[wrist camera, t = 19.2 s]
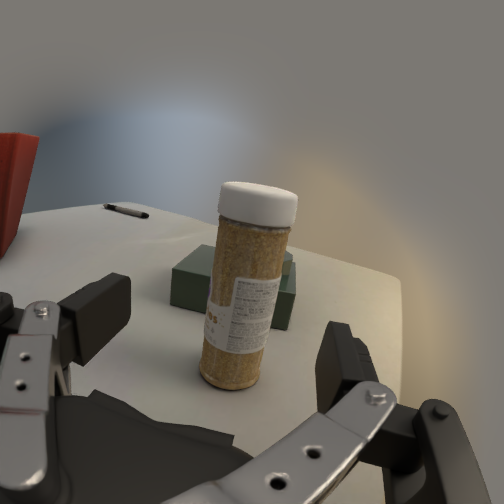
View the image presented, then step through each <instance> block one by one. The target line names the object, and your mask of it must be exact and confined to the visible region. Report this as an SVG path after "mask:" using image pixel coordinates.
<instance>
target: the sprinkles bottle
mask: <svg viewBox="0 0 504 504" xmlns="http://www.w3.org/2000/svg"><path fill="white" fill-rule="evenodd" d="M297 203H298V197H297V195H296V194H294V193H292V192H289V191H286V190H283V189H279V188H275V187H271V186H266V185H260V184H253V183H246V182H225V183H224V184H223V185H222V186H221V191H220V197H219V204H218V212H219V213H220V214H221V215H220V216H219V227H218V234H217V241H216V248H215V253H214V262H213V268H212V271H211V278H210V286H209V294H208V301H207V310H206V317H205V325H204V342H203V351H202V358H201V360H200V364H199V368H200V372H201V374H202V376H203V377H204V378H205V379H206V381H208V382H209V383H211V384H213V385H214V386H216V387H219V388H223V389H229V390H236V389H244V388H248V387H250V386H252V385H253V384H254V383H255V382H256V381H257V380H258V378H259V375H260V369H259V366H260V362H261V359H262V355H263V349H264V346H265V345H266V342H267V338H268V334H269V329H270V325H271V321H272V317H273V312H274V308H275V303H276V299H277V294H278V289H279V285H280V280H281V275H282V273H281V271H282V265H283V260H284V255H285V250H286V246H287V240H288V234H289V233H290V231H291V228H290V226H292V225H293V224H294V221H295V215H296V210H297Z"/></svg>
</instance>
